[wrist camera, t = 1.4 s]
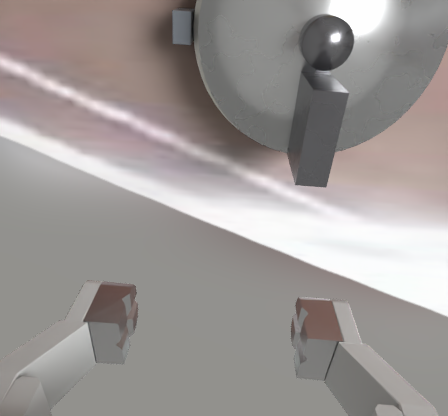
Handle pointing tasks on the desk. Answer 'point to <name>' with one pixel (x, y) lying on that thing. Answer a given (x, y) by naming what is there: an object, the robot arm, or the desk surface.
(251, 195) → the desk surface
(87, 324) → the robot arm
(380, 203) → the desk surface
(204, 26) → the dial
